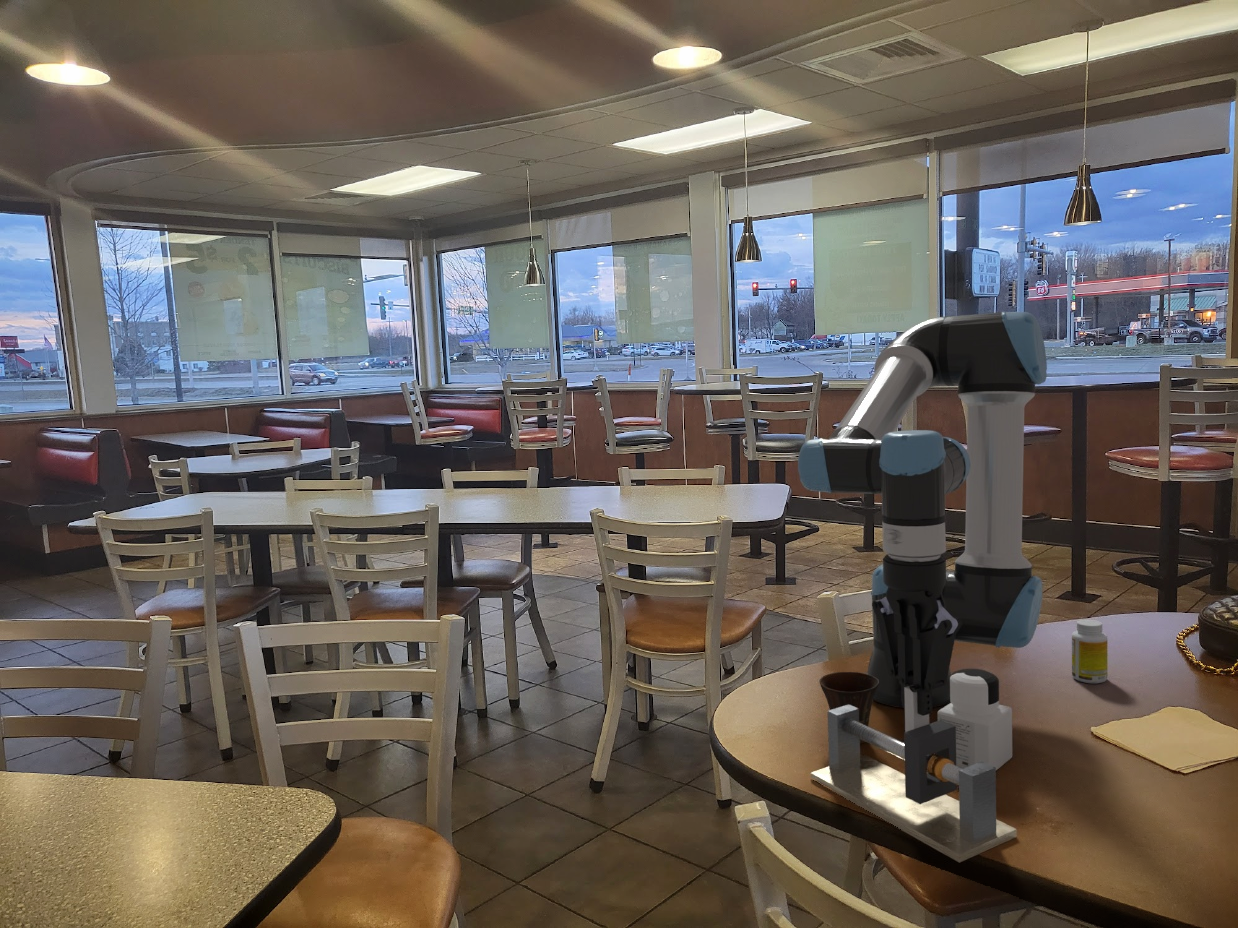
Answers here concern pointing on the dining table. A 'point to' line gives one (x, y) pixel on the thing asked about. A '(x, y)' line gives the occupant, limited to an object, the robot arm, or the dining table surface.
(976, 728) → the container
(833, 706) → the cup
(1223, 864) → the dining table surface
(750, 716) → the dining table surface
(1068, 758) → the dining table surface
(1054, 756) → the dining table surface
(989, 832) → the rail
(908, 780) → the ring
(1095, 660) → the supplement bottle
